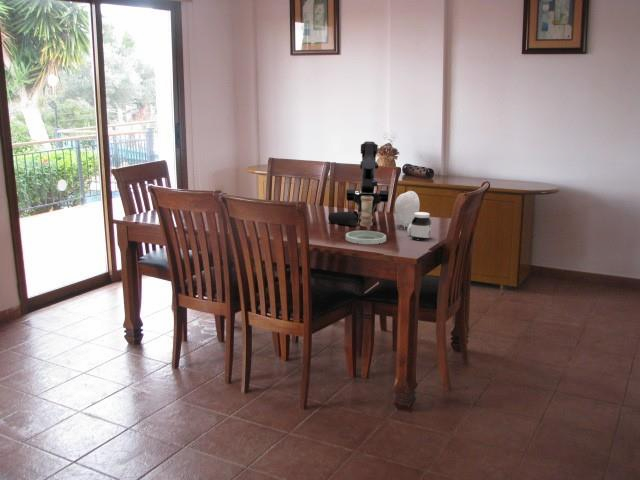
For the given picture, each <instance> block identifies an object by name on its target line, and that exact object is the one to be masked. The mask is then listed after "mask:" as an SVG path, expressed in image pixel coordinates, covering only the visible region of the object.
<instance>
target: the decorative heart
mask: <svg viewBox="0 0 640 480" xmlns="http://www.w3.org/2000/svg"><path fill="white" fill-rule="evenodd" d="M420 205H421V204H420V198H419V195H418V194H417V193H416V191H413V190H407V191H406V192H404V193H401V194H399V195H398V196H397V198H396V199H395V203H394V214H395V217H396V219H397V221H398V222H399V223H400V225H402V226H403V230H405V229H406V228H408V226H409V225H410V224H411V223H412V220H413V218H414V213H416V212H420Z"/></svg>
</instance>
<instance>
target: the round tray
mask: <svg viewBox="0 0 640 480" xmlns="http://www.w3.org/2000/svg"><path fill="white" fill-rule="evenodd" d="M345 241H347V242H349V243H353V244H357V243H358V244H359V245H378V244H379V243H380V244H384V243H386V242H387V234H385V233H383V232H379V231H377V230H376V231H374V230H353V231H348V232H346V233H345Z"/></svg>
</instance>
